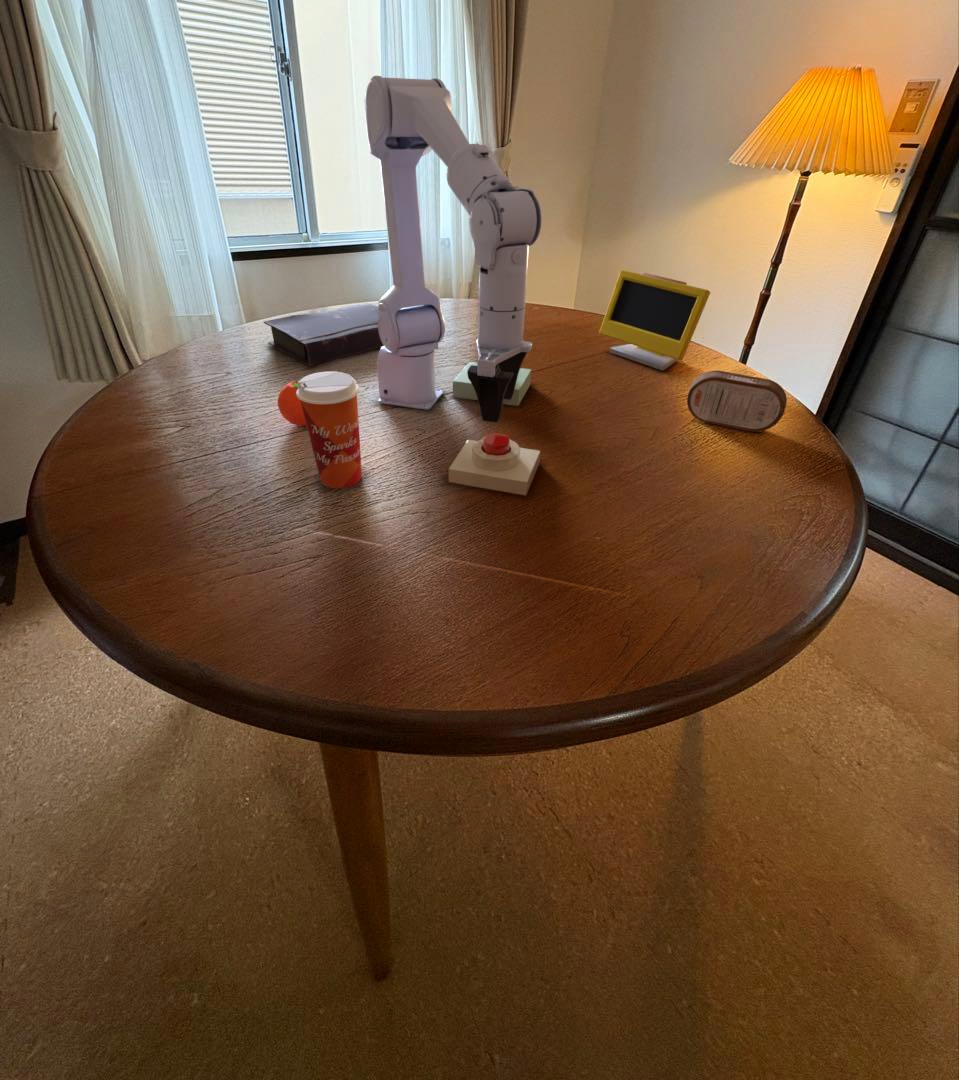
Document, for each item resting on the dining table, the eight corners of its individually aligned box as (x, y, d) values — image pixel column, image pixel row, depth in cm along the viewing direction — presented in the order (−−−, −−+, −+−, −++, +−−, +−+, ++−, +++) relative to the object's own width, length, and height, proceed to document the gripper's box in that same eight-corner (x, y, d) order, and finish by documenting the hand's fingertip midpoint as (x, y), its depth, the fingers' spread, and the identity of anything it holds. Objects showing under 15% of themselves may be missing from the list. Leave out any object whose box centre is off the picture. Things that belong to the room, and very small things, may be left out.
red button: (480, 454, 77) (480, 443, 76) (487, 442, 79) (487, 431, 78) (505, 458, 76) (506, 447, 75) (511, 446, 79) (512, 435, 78)
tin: (776, 430, 92) (795, 381, 87) (775, 438, 90) (794, 388, 85) (682, 412, 97) (695, 364, 92) (679, 419, 95) (692, 371, 90)
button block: (448, 482, 78) (448, 457, 75) (467, 452, 84) (467, 428, 82) (525, 495, 75) (528, 470, 73) (539, 463, 82) (541, 439, 80)
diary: (412, 342, 123) (411, 318, 120) (310, 369, 109) (306, 343, 106) (364, 322, 134) (362, 299, 131) (266, 344, 120) (261, 320, 117)
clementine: (338, 425, 91) (332, 383, 86) (301, 440, 86) (293, 396, 82) (310, 410, 95) (303, 369, 90) (273, 423, 91) (264, 381, 86)
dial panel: (452, 397, 100) (452, 380, 98) (469, 376, 108) (469, 360, 106) (518, 406, 98) (519, 388, 96) (530, 384, 105) (531, 368, 104)
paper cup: (321, 498, 74) (302, 398, 65) (306, 471, 79) (288, 375, 71) (377, 484, 77) (367, 386, 68) (360, 459, 82) (348, 365, 74)
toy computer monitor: (596, 349, 122) (607, 270, 112) (618, 341, 126) (632, 265, 116) (674, 376, 110) (695, 291, 100) (697, 367, 114) (718, 285, 105)
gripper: (521, 325, 62) (514, 436, 71) (544, 293, 74) (536, 392, 82) (460, 319, 64) (461, 428, 72) (492, 289, 75) (489, 386, 83)
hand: (497, 408), depth 77 cm, fingers open, 7 cm apart
